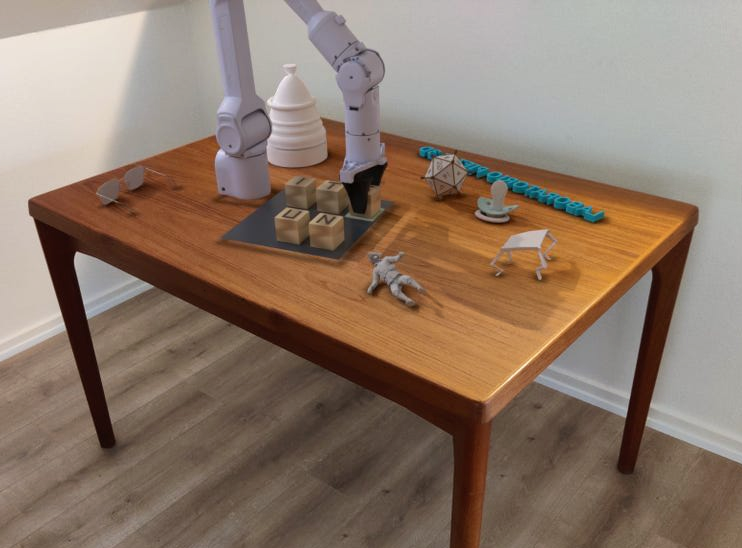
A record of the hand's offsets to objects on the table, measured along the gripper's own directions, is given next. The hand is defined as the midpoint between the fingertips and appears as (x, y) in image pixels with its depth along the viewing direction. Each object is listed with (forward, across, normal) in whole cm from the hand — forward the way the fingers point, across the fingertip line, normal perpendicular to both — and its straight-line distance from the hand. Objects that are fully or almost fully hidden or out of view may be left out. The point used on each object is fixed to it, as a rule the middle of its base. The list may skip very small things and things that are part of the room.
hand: (364, 207), depth 129 cm
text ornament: (+2, +24, -18) cm, 30 cm away
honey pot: (+2, +24, +26) cm, 35 cm away
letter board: (+2, -6, +8) cm, 10 cm away
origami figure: (+2, -8, -31) cm, 32 cm away
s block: (+1, 0, 0) cm, 1 cm away
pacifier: (+2, +8, -21) cm, 23 cm away
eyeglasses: (+2, -6, +44) cm, 44 cm away
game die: (+2, +14, -10) cm, 18 cm away
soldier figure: (+2, -22, -14) cm, 26 cm away
